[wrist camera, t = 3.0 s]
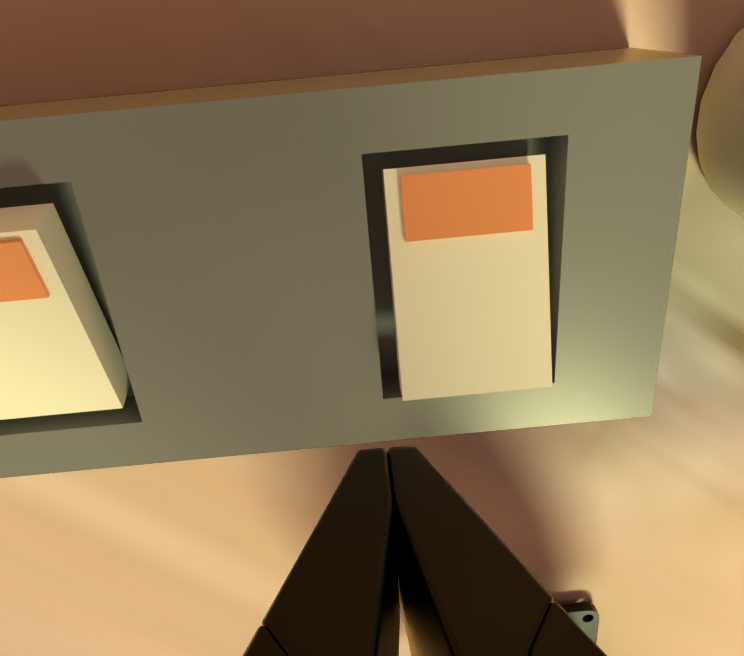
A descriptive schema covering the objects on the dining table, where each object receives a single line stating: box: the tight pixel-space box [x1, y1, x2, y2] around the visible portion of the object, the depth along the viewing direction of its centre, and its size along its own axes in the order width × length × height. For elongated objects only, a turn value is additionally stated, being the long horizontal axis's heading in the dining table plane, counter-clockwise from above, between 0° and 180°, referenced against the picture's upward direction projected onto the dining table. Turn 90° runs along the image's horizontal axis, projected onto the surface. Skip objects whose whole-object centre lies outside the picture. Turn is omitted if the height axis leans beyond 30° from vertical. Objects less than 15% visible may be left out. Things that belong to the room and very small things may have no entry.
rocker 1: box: [0, 203, 131, 420], centre depth 17 cm, size 6×4×1 cm, turn 5°
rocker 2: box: [381, 154, 552, 401], centre depth 17 cm, size 6×4×1 cm, turn 5°
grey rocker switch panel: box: [0, 48, 702, 478], centre depth 18 cm, size 10×23×4 cm, turn 95°
